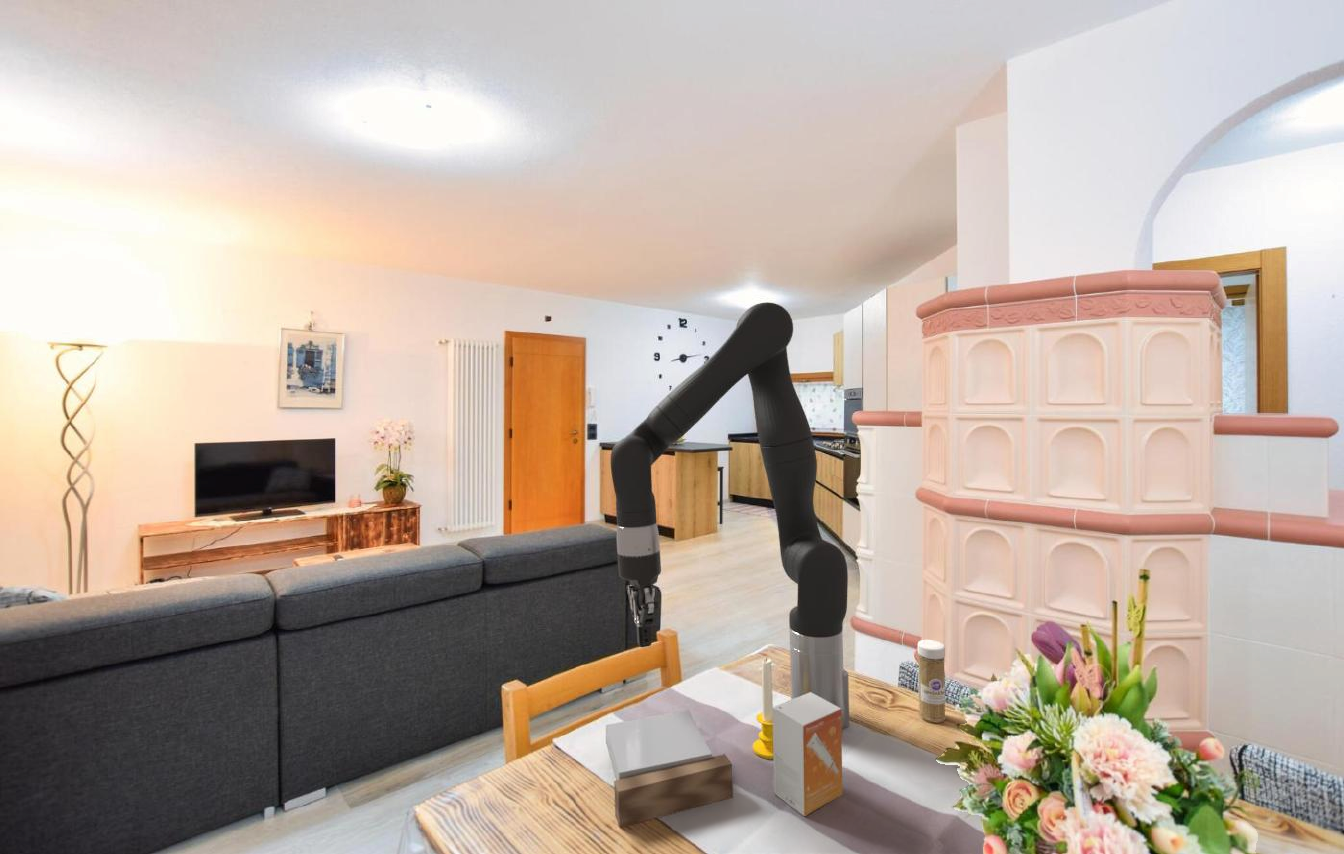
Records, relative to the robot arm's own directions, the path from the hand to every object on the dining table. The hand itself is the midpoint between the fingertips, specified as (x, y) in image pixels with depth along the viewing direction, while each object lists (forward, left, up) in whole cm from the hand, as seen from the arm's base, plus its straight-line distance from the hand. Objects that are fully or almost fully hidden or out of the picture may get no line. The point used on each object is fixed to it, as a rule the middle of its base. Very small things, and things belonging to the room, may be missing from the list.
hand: (644, 644), depth 103 cm
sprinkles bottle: (-49, +16, -15) cm, 54 cm away
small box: (-17, +26, -15) cm, 34 cm away
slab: (+2, +14, -12) cm, 18 cm away
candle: (-17, +14, -15) cm, 27 cm away
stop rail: (+2, +21, -15) cm, 26 cm away
